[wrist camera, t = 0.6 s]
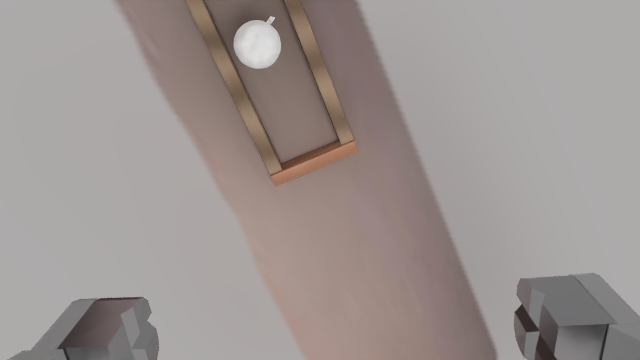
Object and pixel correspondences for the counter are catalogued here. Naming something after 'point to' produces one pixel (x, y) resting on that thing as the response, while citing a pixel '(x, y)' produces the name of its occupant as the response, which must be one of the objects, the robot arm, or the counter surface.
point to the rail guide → (249, 113)
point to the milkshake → (257, 43)
